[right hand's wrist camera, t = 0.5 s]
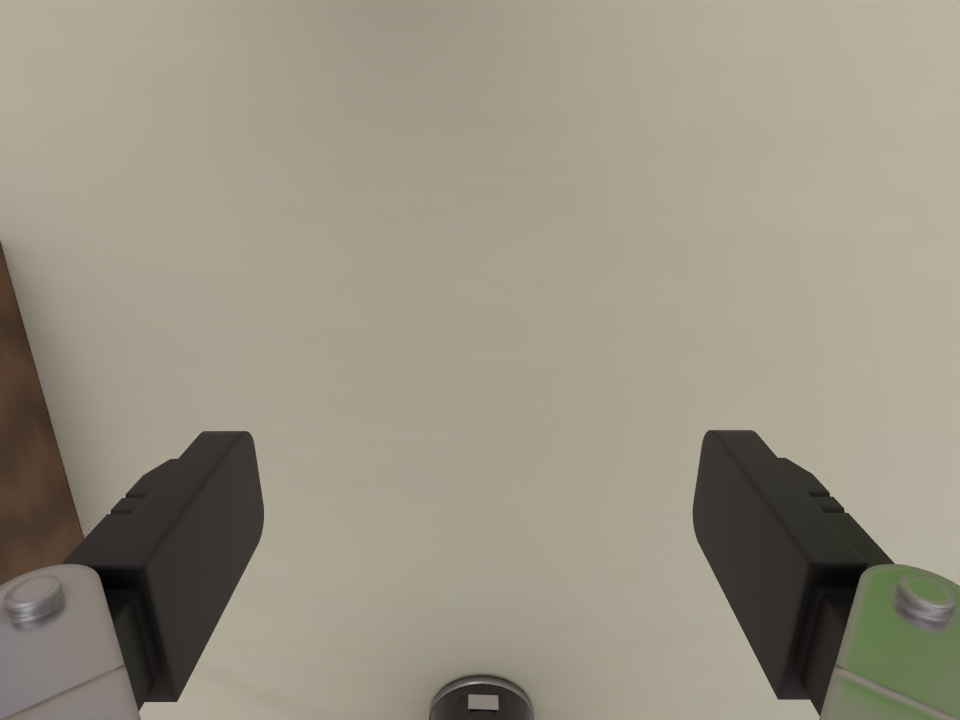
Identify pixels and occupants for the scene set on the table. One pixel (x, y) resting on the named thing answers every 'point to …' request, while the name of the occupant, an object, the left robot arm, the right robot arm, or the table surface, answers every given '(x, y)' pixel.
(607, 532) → the table surface
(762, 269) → the table surface
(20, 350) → the box
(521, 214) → the table surface
